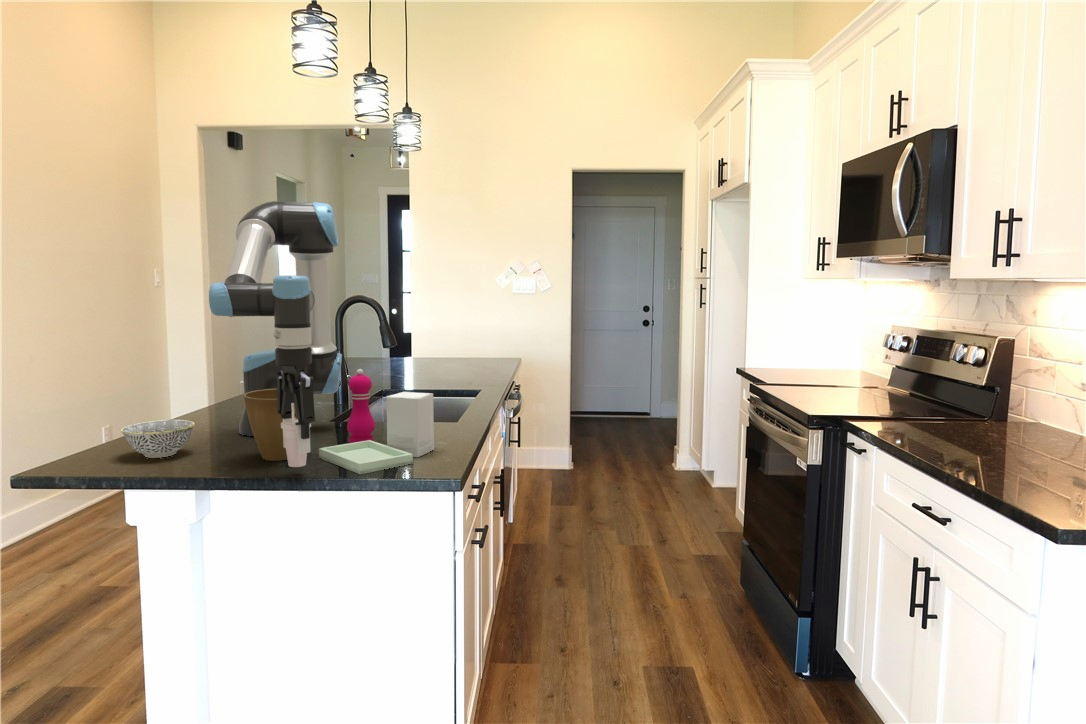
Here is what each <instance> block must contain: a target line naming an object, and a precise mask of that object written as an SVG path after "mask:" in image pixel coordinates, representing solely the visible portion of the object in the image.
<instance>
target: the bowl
mask: <svg viewBox="0 0 1086 724" xmlns="http://www.w3.org/2000/svg"><path fill="white" fill-rule="evenodd" d="M195 425H196V424H195V421H192V420H187V419H160V420H159V419H158V420H151V421H144V422H138V423H133V424H130V425H126V426H123V428H121V429H120V432H121V433H122V435H123V436H124V438H125V439H126V442H127V443H128V444H129V447H131V448H132V450H134V451H135V452H137V453H139V454H142V455H143V457H144V456H145V457H153V458H154V457H166V456H171V455H174V454H176V455H177V452H178V451H179V450H181V449H182V448H184V446H186V444H187V443H188V441H189V439H190V436H191V433H192V430H193V428H194V426H195ZM174 456H175V455H174ZM145 457H144V458H145ZM171 457H172V456H171Z"/></svg>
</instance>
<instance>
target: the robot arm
mask: <svg viewBox="0 0 1086 724" xmlns="http://www.w3.org/2000/svg"><path fill="white" fill-rule="evenodd" d="M338 234H339V233H338V227H337V221H336V216H335V212H334V209H333V207H332V206H331V205H330V204H329V203H326V202H325V203H323V202H316V201H279V200H278V201H277V200H275V201H273V200H272V201H267V202H264V203H261V204H259V205H257V206H255V207H253V208H251V210H249V211H247V213H246V214H244V215H243V217H242V218H241V219H240V220H239V222H238V224H237V226H236V230H235V238H236V245H235V247H234V251H233V254H232V257H231V260H230V263H229V266H228V270H227V274H226V276H225V279H224V281H221V282H214V283H212V284H211V285H210V286H209V290H208V304H209V305H208V306H209V308H210V311H211V313H212V314H213V315H214V316H216V317H217V316H219V317H229V318H233V317H273V319H274V326H273V327H274V332H273V333H272V335H273V337H274V343H275V344H274V345H275V346H278V347H276V348H275V349H270V350H263V351H262V350H261V351H258V352H253V353H249V354H246V355H245V357H244V358H243V366H242V368H243V369H242V373H243V391H244V392H243V395H244V394H246V393H248V392H252V391H257V390H265V389H277V413H278V414H281V418H283V422H284V421H288V420H292V418H291V417H292V406H291V403H294V407H295V406H296V412H297V418H298V422H297V423H295V425H296V432H297V454H303V453H307V454H308V453H309V454H310V453H311V429H310V428H311V427H310V423H311V424H312V423H314V422H316V416H315V415H316V414H315V400H314V399H315V398H314V395H325V394H328V395H329V394H335V393H337V391H338V390H339V387H340V379H341V370H342V360H343V359H342V358H343V354H342V353H340V352H338V351H337V349H338V348H337V346H336V345H335V344H334V343H333V342H332V339H331V338H332V337H331V336H332V334H331V333H332V331H331V310H330V306H331V305H330V304H331V303H330V280H329V276H330V275H329V259H330V257H331V256H332V255H333V254H334V248H336V247H338V246H339V242H340V241H339V235H338ZM273 246H288V252H289V254H290V255H291V256H292V257H294V260H295V275H291V274H290V275H275V276H274V277H273V279H272V282H270V283H269V282H268V283H267V282H264V283H263V282H261V281H262V278H263V274H264V270H265V269H264V268H265V265H266V261H267V256H268V253H269V250H270V249H271V248H272V247H273ZM295 416H296V414H295V413H294V417H295ZM295 420H296V418H295ZM238 433H240V434H243V435H247V436H246V437H250V436H253V433H252V429H251V426H250V422H249V418H248V414H247V410H246V405H245V404H244V407H243V410H242V414H241V419H240V421H239V423H238ZM240 434H239V435H240ZM243 435H242V436H243ZM283 447H284V448H286V447H285V441H284V436H283Z"/></svg>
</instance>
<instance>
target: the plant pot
mask: <svg viewBox="0 0 1086 724" xmlns="http://www.w3.org/2000/svg"><path fill="white" fill-rule="evenodd" d="M243 399H244V406H245V405H246V410H247V414H248V418H249V422H250V426H251V429H252V433H253V436H254V437H253V439H254V441H255V444H256V447H257V448H258V451H259V453H260V455H261V457H262V459H263V460H264V459H265V460H264V461H269V462H273V461H274V462H277V461H286V460H287V461H288V459H287V453H286V448H284V447H283V429H282V428H281V423H282V422H283V418H281V414H278V413H277V389H265V390H257V391H252V392H248V393H246V394H244V393H243ZM294 413H295V414H296V416H295V418H296V419H298V418H297V412H296V406H295V407H294ZM291 418H292V417H291Z"/></svg>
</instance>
